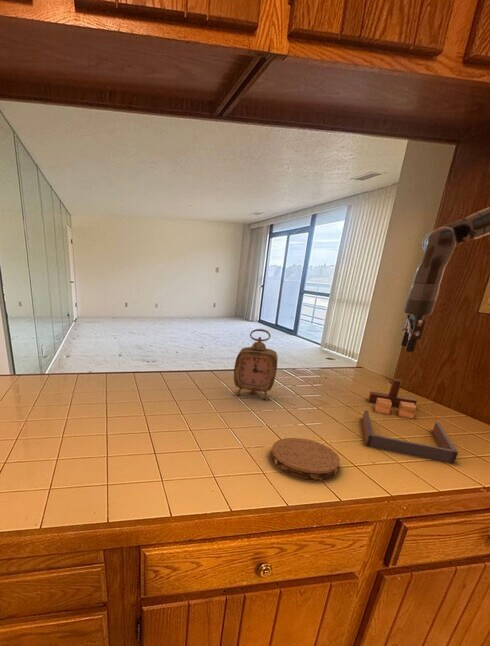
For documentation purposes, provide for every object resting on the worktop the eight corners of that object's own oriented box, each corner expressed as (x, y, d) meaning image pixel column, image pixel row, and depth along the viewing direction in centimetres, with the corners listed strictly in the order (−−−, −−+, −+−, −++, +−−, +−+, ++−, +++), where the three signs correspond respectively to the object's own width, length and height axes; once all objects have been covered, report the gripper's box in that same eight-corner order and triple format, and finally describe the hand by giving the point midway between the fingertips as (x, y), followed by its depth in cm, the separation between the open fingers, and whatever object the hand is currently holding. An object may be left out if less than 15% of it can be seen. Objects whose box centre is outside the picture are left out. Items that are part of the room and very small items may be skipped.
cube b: (397, 411, 119) (400, 401, 117) (410, 414, 117) (414, 403, 116) (398, 416, 116) (402, 405, 114) (413, 418, 114) (416, 407, 112)
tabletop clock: (231, 396, 129) (238, 329, 119) (235, 388, 137) (242, 325, 127) (271, 402, 124) (281, 333, 115) (273, 394, 132) (283, 328, 122)
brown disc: (307, 443, 97) (309, 434, 96) (352, 475, 83) (355, 464, 82) (258, 452, 92) (260, 442, 91) (297, 487, 78) (299, 476, 77)
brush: (368, 402, 126) (375, 378, 122) (367, 400, 128) (374, 375, 125) (413, 410, 121) (422, 384, 117) (412, 407, 123) (420, 382, 119)
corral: (361, 419, 112) (364, 410, 111) (435, 433, 105) (439, 422, 103) (365, 446, 96) (369, 435, 95) (453, 464, 89) (458, 452, 87)
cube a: (374, 408, 122) (377, 397, 120) (387, 410, 120) (390, 399, 118) (375, 412, 118) (378, 401, 117) (388, 414, 117) (392, 403, 115)
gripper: (442, 301, 101) (425, 355, 108) (430, 297, 113) (415, 345, 120) (412, 299, 104) (397, 352, 111) (403, 295, 116) (390, 343, 123)
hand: (406, 348), depth 115 cm, fingers open, 8 cm apart
